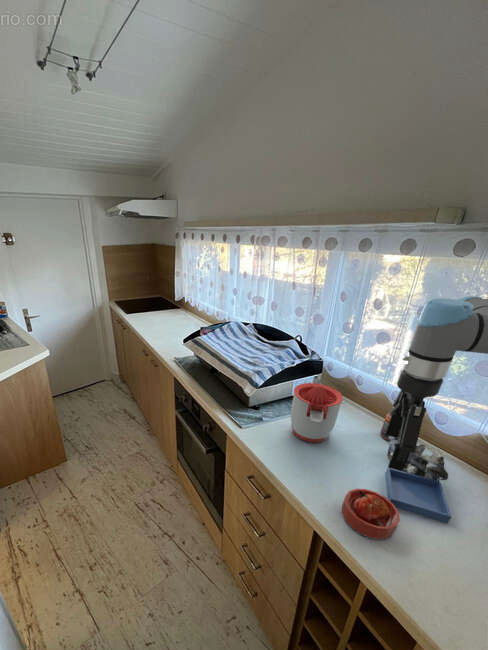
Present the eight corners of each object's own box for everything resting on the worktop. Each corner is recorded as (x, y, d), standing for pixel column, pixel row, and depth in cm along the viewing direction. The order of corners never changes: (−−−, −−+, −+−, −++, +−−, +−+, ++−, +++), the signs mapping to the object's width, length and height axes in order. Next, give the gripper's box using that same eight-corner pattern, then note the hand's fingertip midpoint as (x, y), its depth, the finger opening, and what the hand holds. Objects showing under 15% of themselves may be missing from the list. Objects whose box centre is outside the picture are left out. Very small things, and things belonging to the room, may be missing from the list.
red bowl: (391, 509, 82) (397, 498, 80) (396, 548, 72) (402, 536, 70) (342, 494, 87) (345, 483, 85) (340, 528, 77) (344, 516, 75)
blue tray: (437, 488, 89) (440, 481, 87) (447, 523, 78) (451, 516, 77) (384, 473, 94) (387, 467, 93) (388, 505, 83) (391, 498, 82)
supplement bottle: (395, 444, 106) (406, 417, 101) (377, 436, 110) (386, 410, 105) (401, 437, 110) (411, 410, 104) (382, 429, 113) (392, 403, 108)
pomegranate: (384, 525, 80) (365, 486, 84) (404, 525, 73) (382, 484, 77) (360, 534, 78) (342, 495, 82) (378, 535, 72) (357, 492, 76)
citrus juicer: (285, 445, 106) (294, 395, 97) (287, 418, 121) (295, 372, 111) (334, 454, 102) (348, 403, 92) (330, 425, 116) (342, 378, 107)
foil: (427, 446, 100) (453, 450, 86) (422, 478, 99) (447, 488, 85) (387, 437, 103) (406, 439, 89) (381, 468, 103) (399, 476, 88)
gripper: (397, 351, 77) (374, 420, 87) (408, 396, 57) (377, 479, 67) (433, 356, 74) (405, 427, 84) (458, 405, 54) (418, 491, 64)
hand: (393, 451), depth 75 cm, fingers open, 13 cm apart
